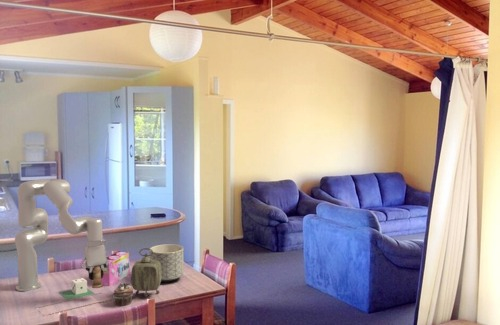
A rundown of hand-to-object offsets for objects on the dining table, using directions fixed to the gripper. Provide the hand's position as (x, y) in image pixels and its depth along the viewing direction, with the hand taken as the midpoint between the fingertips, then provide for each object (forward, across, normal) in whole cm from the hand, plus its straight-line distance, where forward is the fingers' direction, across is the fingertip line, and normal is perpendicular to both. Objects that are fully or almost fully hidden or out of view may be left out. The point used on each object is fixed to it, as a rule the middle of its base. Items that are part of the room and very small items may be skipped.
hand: (96, 278), depth 239 cm
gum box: (+11, -19, -23) cm, 32 cm away
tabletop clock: (+11, -22, +12) cm, 27 cm away
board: (+11, +11, 0) cm, 16 cm away
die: (+10, +3, -15) cm, 19 cm away
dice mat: (+11, +5, -14) cm, 19 cm away
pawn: (+4, 0, +1) cm, 4 cm away
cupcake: (+11, -8, +14) cm, 19 cm away
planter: (+11, -43, -4) cm, 44 cm away
